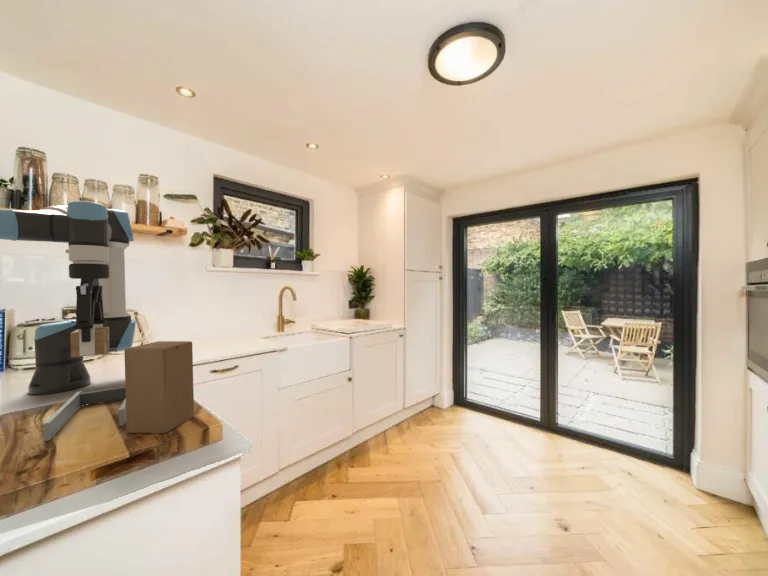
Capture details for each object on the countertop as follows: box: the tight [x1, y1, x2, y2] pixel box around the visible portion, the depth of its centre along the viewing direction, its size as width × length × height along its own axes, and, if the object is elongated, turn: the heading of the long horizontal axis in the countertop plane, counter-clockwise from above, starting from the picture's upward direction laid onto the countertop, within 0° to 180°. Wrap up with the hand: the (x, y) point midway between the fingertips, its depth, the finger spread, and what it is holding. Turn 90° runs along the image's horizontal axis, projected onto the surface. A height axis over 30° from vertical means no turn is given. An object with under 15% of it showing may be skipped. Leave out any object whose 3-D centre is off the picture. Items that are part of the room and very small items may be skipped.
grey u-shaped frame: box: [43, 386, 126, 442], centre depth 85 cm, size 26×14×4 cm, turn 33°
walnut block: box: [70, 327, 110, 358], centre depth 80 cm, size 8×6×6 cm
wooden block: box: [123, 340, 195, 435], centre depth 78 cm, size 10×10×20 cm
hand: (92, 351), depth 80 cm, fingers closed on walnut block, 8 cm apart
